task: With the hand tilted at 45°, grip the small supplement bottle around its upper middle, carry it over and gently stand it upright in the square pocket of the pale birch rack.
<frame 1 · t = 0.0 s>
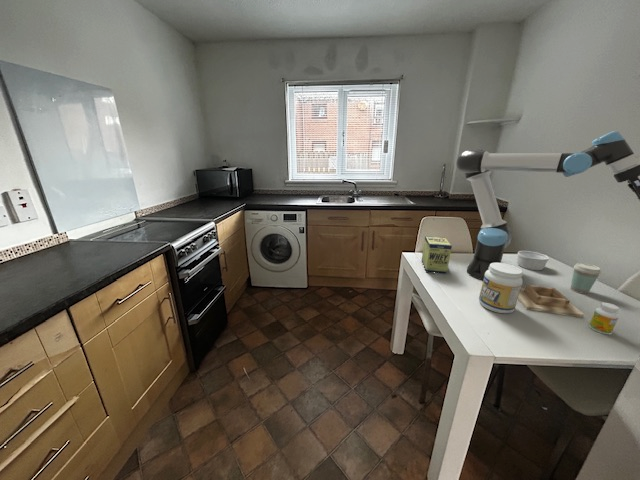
supplement tub: (495, 306, 101), on the table
protein box: (433, 267, 137), on the table
birch rack: (543, 302, 104), on the table
supplement bottle: (599, 330, 88), on the table
coffee cup: (579, 290, 114), on the table
ramekin: (529, 266, 139), on the table
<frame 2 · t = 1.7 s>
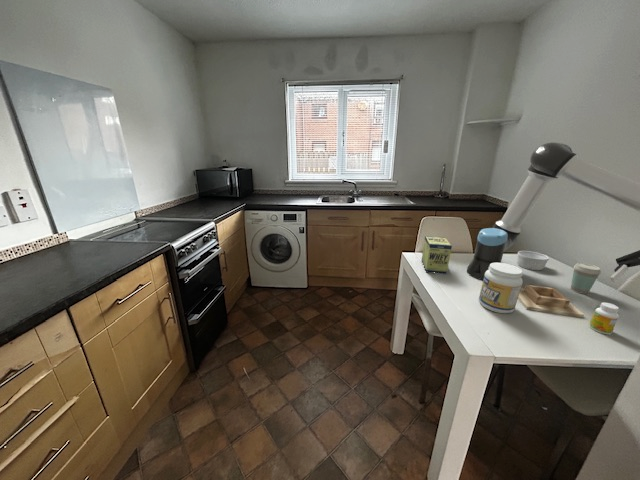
hand: (638, 288, 85), 15 cm above the table, tool tilted 45°, fingers open, 13 cm apart
nothing on the table moved.
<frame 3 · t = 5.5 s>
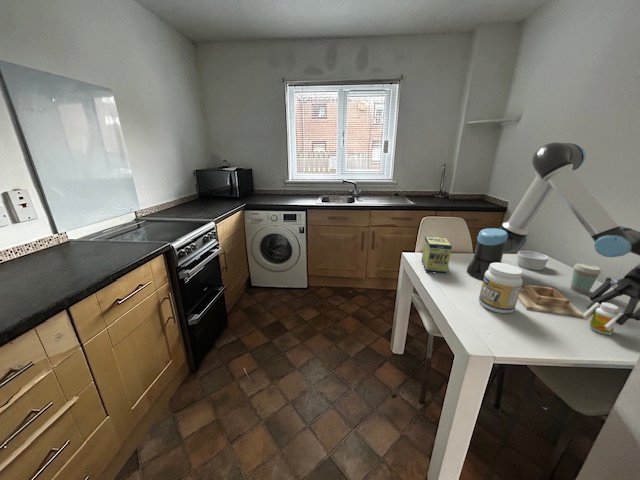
hand: (595, 322, 86), 3 cm above the table, tool tilted 45°, fingers closed on supplement bottle, 5 cm apart
supplement bottle: (599, 330, 88), on the table, touching gripper
everything else where it was.
when the fingers open (6 cm above the table, at t = 10.9 s): supplement bottle drops 2 cm, resting on birch rack.
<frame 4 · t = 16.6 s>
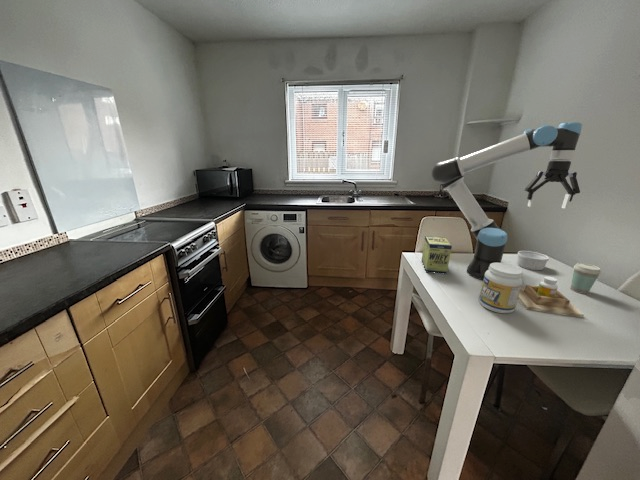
hand: (546, 207, 119), 35 cm above the table, tool pointing down, fingers open, 13 cm apart
supplement bottle: (543, 300, 104), point 1 cm above the table, touching birch rack
everything else where it was.
at the end: supplement bottle 0.1 cm off-centre on the birch rack, point 1.0 cm above the birch rack's base; supplement bottle tilted 0°; the gripper is holding nothing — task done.
